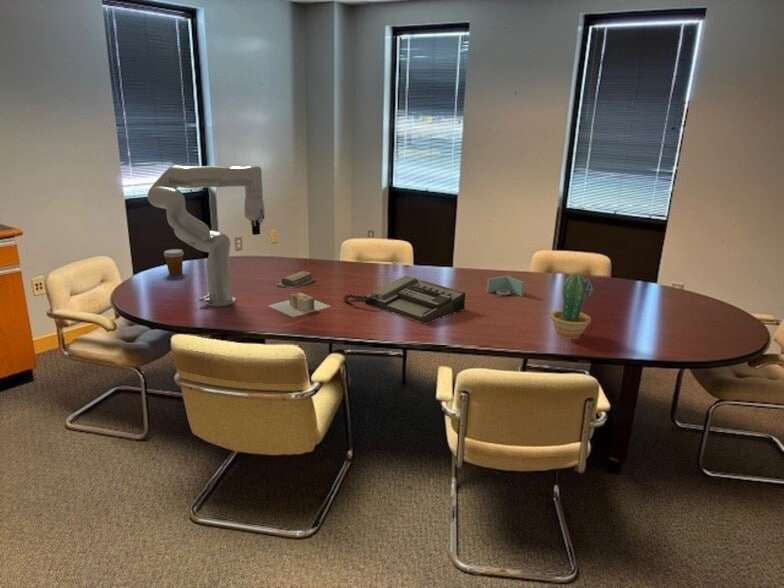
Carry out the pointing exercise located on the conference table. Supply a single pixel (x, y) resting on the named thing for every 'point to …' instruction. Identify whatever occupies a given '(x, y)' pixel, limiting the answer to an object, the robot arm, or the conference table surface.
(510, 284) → the l-shaped corner panel
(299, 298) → the maple block
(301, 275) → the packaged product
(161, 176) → the robot arm
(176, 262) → the disposable coffee cup
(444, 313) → the fax machine
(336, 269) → the conference table surface
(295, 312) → the mat
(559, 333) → the potted cactus
